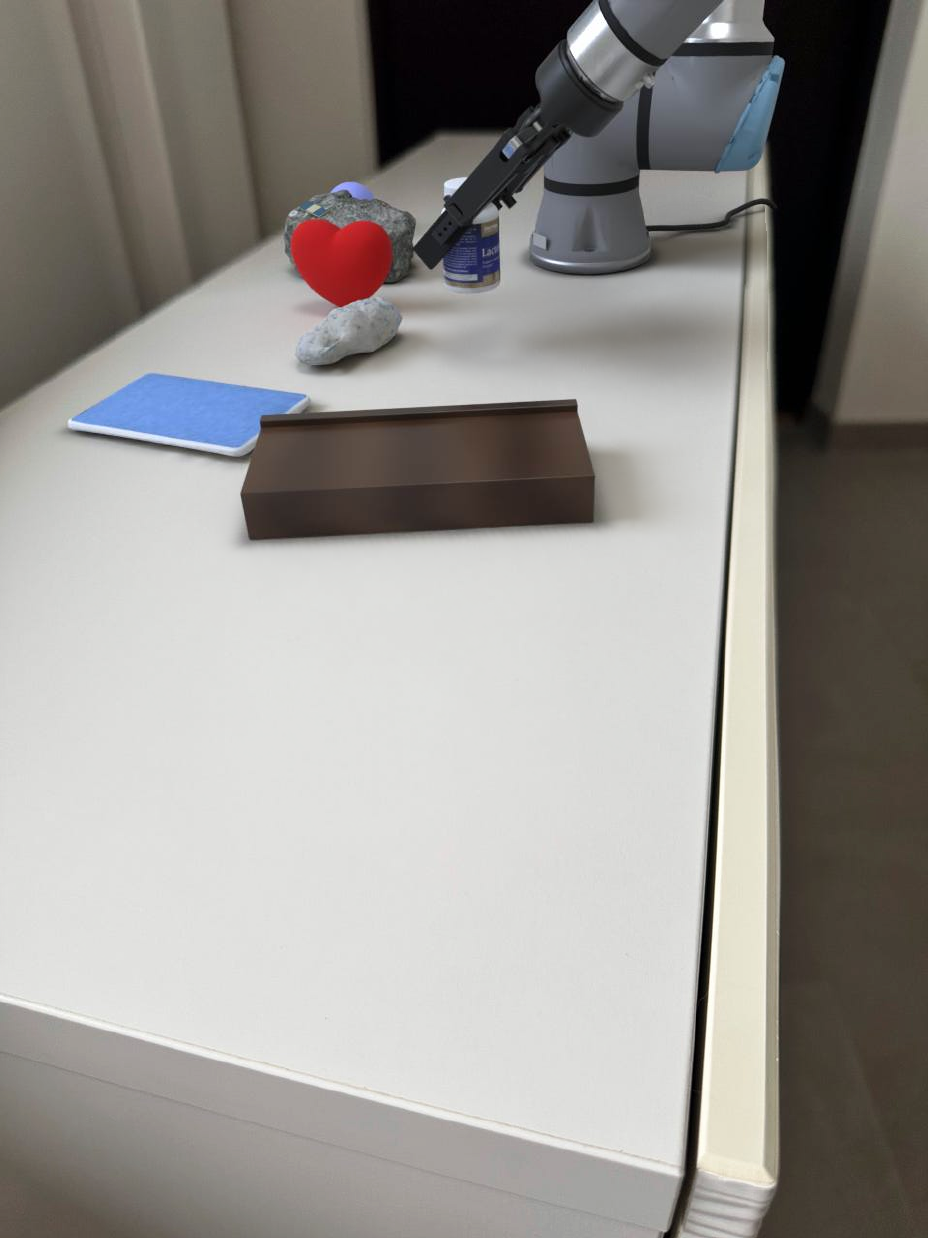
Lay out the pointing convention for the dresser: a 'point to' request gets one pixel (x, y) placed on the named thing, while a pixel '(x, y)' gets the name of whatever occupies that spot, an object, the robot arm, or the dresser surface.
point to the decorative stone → (350, 331)
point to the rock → (349, 209)
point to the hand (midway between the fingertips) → (438, 248)
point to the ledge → (418, 470)
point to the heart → (342, 259)
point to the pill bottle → (474, 252)
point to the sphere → (355, 190)
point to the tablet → (188, 413)
